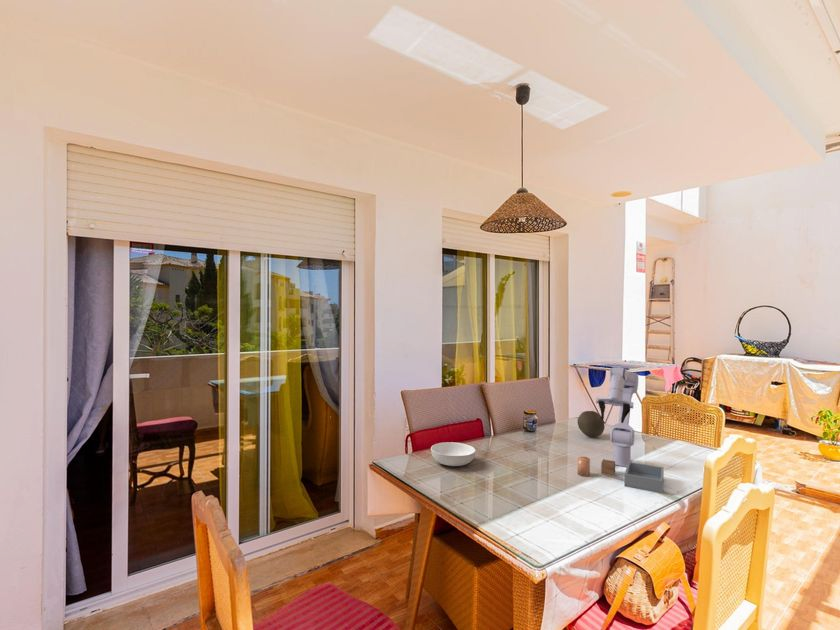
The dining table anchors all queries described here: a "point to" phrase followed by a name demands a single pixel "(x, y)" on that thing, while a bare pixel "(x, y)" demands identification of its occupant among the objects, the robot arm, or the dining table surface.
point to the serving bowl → (453, 453)
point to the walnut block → (608, 467)
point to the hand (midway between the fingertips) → (612, 420)
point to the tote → (644, 477)
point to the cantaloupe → (591, 423)
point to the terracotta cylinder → (583, 466)
